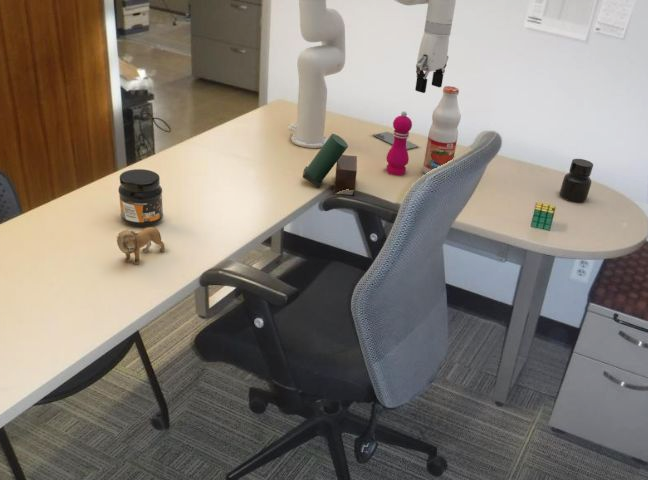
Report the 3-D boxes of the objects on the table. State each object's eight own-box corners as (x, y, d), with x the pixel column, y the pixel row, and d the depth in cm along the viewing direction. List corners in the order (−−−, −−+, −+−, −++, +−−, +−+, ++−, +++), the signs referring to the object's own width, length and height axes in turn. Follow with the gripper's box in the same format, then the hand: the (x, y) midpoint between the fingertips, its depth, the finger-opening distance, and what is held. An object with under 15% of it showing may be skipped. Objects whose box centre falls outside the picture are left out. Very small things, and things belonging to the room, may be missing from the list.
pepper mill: (407, 169, 238) (416, 109, 227) (405, 177, 232) (415, 116, 221) (385, 166, 238) (393, 106, 227) (383, 174, 232) (392, 113, 221)
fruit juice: (442, 166, 244) (457, 83, 229) (455, 177, 237) (471, 93, 221) (417, 168, 240) (431, 83, 225) (430, 179, 233) (444, 92, 218)
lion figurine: (132, 273, 163) (129, 238, 158) (112, 266, 165) (109, 231, 160) (170, 248, 175) (169, 214, 170) (152, 242, 176) (150, 208, 172)
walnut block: (333, 194, 214) (336, 168, 210) (335, 178, 224) (337, 154, 220) (353, 196, 214) (356, 170, 210) (354, 180, 224) (356, 156, 220)
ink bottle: (589, 197, 237) (600, 162, 230) (584, 205, 230) (595, 170, 223) (561, 189, 240) (570, 154, 233) (555, 197, 233) (564, 162, 226)
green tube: (301, 186, 216) (305, 135, 207) (303, 178, 221) (306, 128, 212) (343, 190, 217) (348, 140, 208) (344, 183, 222) (349, 133, 213)
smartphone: (403, 149, 252) (372, 134, 261) (403, 151, 252) (372, 135, 261) (418, 146, 257) (387, 131, 266) (418, 147, 257) (387, 132, 266)
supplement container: (125, 231, 180) (122, 186, 173) (117, 213, 187) (113, 169, 181) (168, 226, 184) (166, 182, 178) (158, 209, 192) (156, 166, 185)
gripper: (440, 22, 212) (431, 81, 221) (411, 28, 199) (402, 90, 208) (463, 28, 209) (452, 87, 218) (434, 34, 196) (424, 97, 205)
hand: (428, 88), depth 213 cm, fingers open, 9 cm apart
